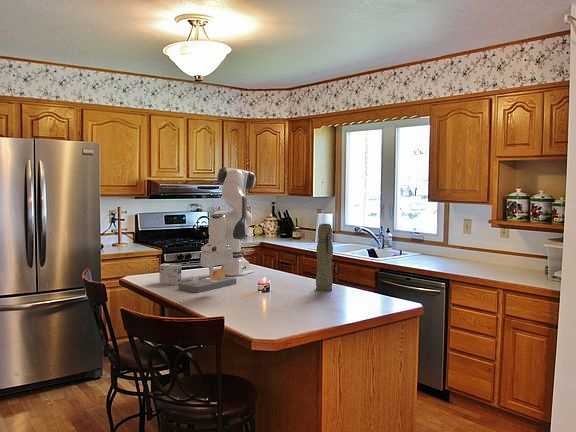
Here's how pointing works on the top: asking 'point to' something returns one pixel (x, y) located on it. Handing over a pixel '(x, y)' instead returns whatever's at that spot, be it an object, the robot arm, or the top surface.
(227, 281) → the breaker panel
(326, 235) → the thermos
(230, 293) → the top surface
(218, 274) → the lockout cap
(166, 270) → the light bulb box
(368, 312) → the top surface
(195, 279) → the outer breaker
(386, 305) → the top surface
